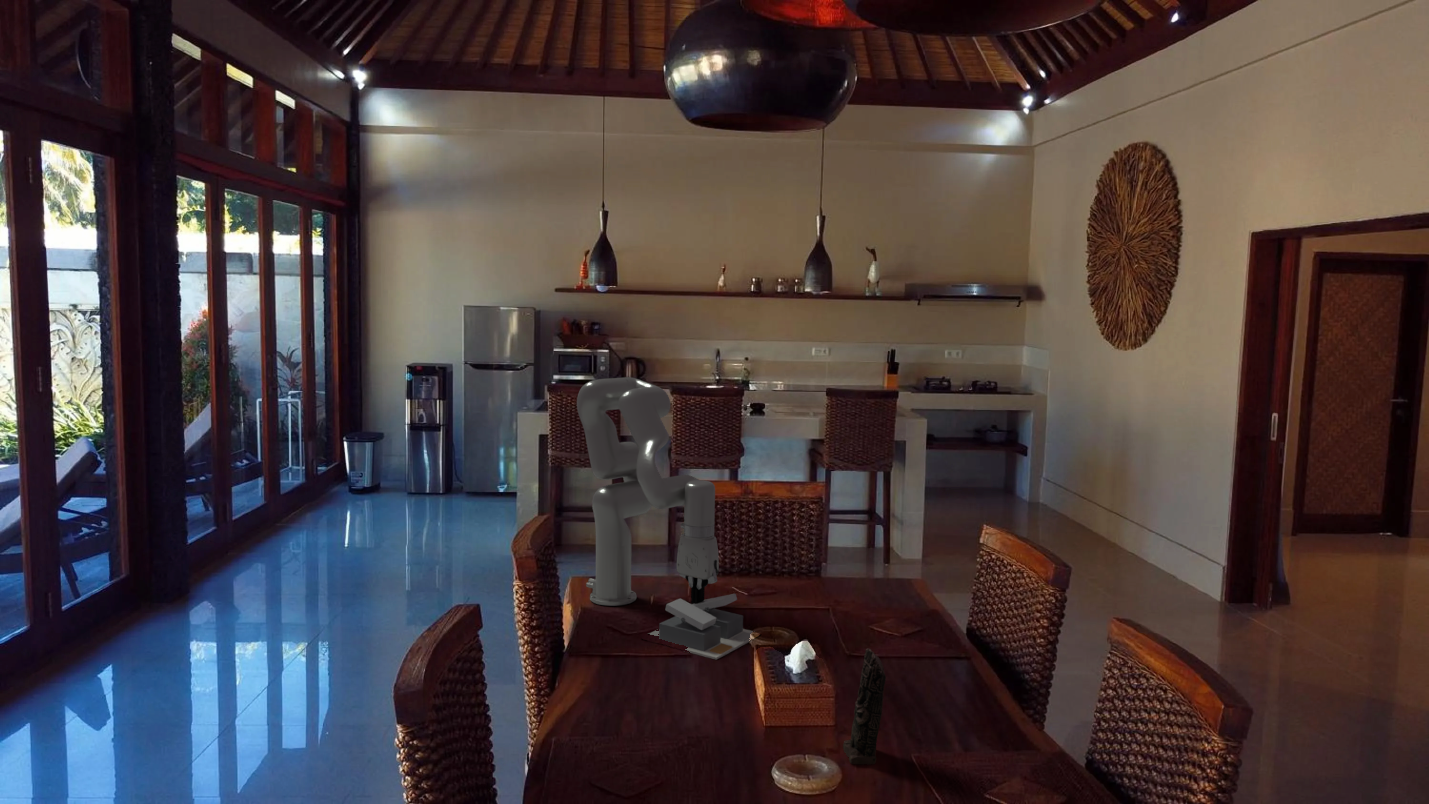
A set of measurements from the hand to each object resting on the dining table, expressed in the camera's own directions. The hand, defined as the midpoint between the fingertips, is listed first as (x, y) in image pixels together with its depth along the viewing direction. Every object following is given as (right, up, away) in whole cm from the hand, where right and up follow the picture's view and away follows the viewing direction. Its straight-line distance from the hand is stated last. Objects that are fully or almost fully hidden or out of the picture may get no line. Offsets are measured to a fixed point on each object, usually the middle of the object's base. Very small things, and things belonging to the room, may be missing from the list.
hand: (697, 602), depth 247 cm
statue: (+32, -15, -66) cm, 74 cm away
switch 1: (-2, -1, -11) cm, 11 cm away
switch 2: (+4, 0, -3) cm, 5 cm away
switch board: (+1, -7, -6) cm, 9 cm away
